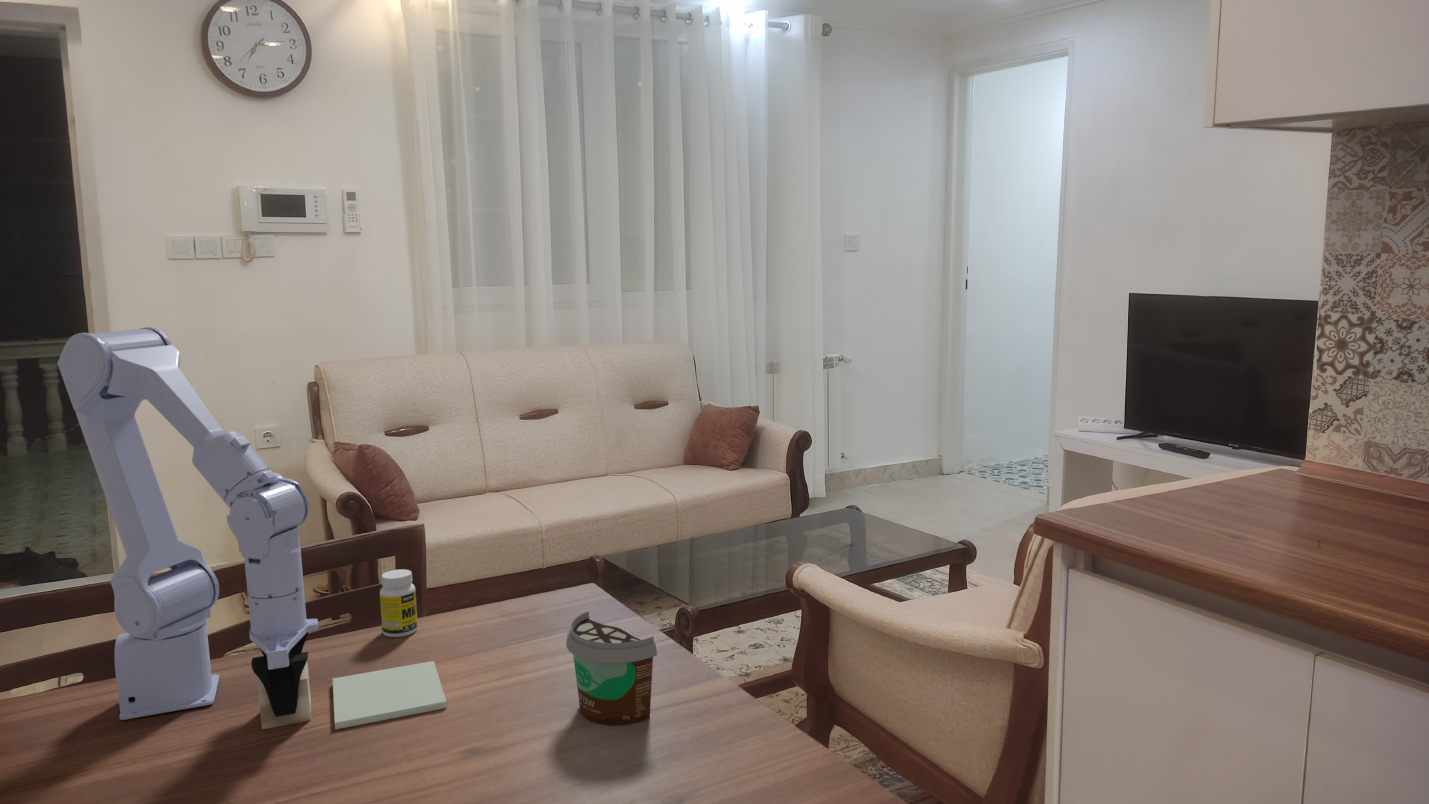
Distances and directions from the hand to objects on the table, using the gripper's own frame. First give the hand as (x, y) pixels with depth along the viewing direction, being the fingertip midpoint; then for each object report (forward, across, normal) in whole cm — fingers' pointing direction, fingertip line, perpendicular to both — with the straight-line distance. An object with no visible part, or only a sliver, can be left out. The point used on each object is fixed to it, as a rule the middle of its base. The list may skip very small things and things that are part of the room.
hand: (286, 703), depth 106 cm
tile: (+1, 0, -11) cm, 11 cm away
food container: (+2, -15, -33) cm, 36 cm away
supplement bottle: (+2, +20, -14) cm, 24 cm away
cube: (+1, 0, 0) cm, 1 cm away
